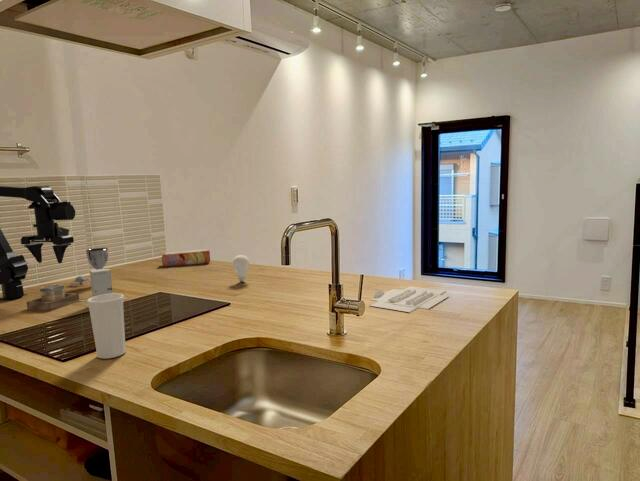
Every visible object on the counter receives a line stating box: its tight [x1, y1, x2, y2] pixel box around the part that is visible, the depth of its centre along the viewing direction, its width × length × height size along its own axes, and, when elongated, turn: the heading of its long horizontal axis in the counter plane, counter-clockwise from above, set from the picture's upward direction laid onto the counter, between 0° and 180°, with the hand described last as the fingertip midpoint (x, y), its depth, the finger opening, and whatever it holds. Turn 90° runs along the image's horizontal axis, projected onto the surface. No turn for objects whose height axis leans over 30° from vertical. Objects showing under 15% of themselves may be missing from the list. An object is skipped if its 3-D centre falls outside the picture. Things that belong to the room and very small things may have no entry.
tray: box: [369, 285, 449, 314], centre depth 147 cm, size 20×28×4 cm
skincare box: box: [89, 268, 114, 297], centre depth 153 cm, size 6×4×12 cm
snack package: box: [161, 248, 211, 268], centre depth 222 cm, size 23×7×7 cm, turn 101°
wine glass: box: [85, 247, 109, 270], centre depth 182 cm, size 8×8×15 cm
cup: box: [86, 292, 126, 359], centre depth 108 cm, size 8×8×14 cm
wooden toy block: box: [39, 283, 66, 302], centre depth 156 cm, size 5×5×6 cm
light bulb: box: [232, 254, 250, 283], centre depth 179 cm, size 7×7×11 cm
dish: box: [68, 278, 91, 288], centre depth 184 cm, size 7×7×2 cm
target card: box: [77, 296, 92, 302], centre depth 165 cm, size 6×9×1 cm, turn 165°
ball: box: [74, 275, 86, 285], centre depth 184 cm, size 4×4×4 cm
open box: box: [26, 292, 80, 312], centre depth 156 cm, size 10×12×3 cm
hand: (50, 263), depth 165 cm, fingers open, 9 cm apart
